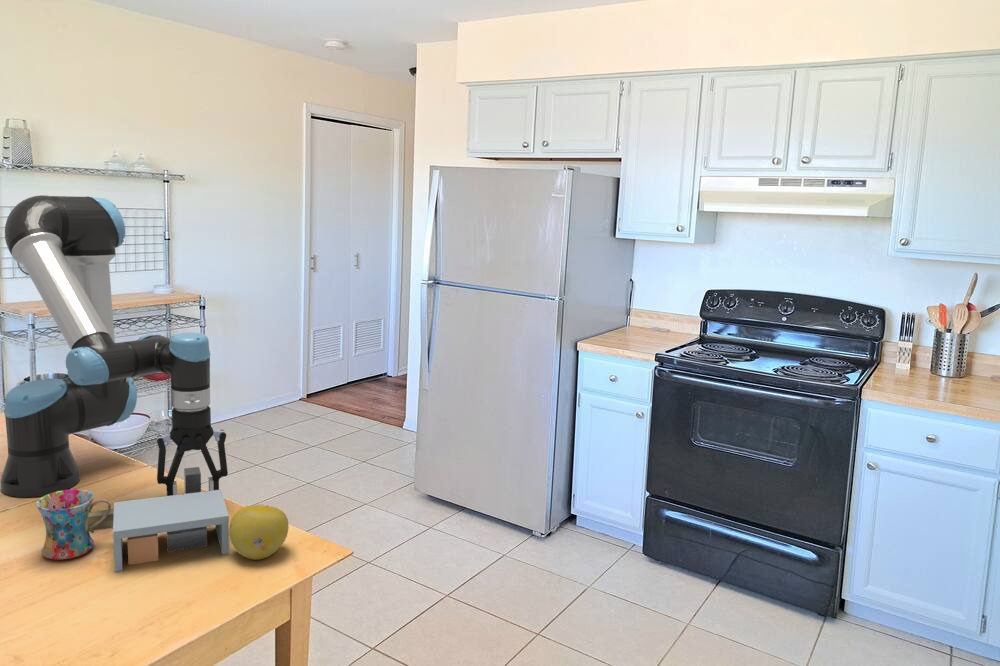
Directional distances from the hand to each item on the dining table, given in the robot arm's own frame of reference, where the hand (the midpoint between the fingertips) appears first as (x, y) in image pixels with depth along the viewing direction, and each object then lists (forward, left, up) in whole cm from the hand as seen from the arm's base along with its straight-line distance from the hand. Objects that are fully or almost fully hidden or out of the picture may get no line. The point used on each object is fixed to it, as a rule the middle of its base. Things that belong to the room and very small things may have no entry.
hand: (193, 509), depth 156 cm
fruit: (+24, +10, 0) cm, 26 cm away
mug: (+11, -21, 0) cm, 24 cm away
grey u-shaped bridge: (+16, -5, 0) cm, 17 cm away
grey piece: (+7, -2, 0) cm, 8 cm away
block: (+17, -10, 0) cm, 20 cm away
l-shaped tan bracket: (+2, -19, 0) cm, 19 cm away
